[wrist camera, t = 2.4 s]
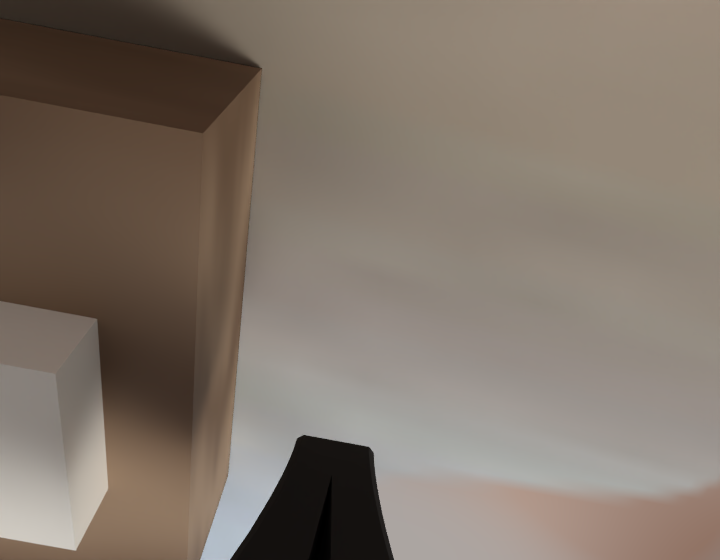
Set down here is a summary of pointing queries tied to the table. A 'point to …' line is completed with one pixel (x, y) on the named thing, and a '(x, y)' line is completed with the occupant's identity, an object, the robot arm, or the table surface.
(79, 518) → the cream tile
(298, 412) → the table surface
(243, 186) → the brown block
